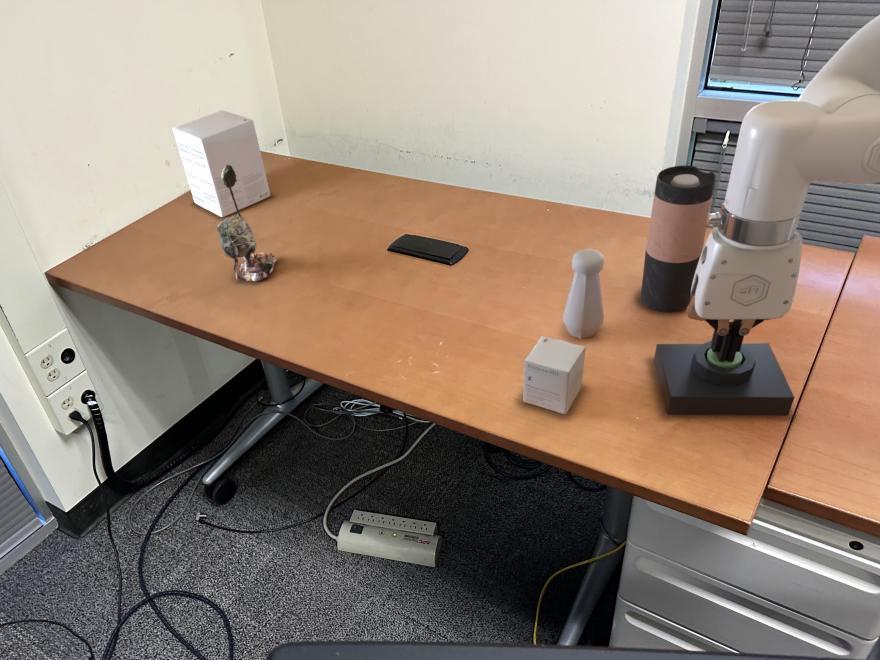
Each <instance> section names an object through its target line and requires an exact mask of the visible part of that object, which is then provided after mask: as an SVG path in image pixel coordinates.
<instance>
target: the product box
mask: <svg viewBox="0 0 880 660" xmlns="http://www.w3.org/2000/svg"><path fill="white" fill-rule="evenodd" d="M586 349H587V347H586V346H584V345H580V344H576V343H573V342H569V341H566V340H563V339H556V338H552V337H548V336H545V335H541V337H540V338H539V340H538V341H537V343H535V345H534V347H533V348H532V350H531V351H530V352H529V354H528V355H527V357H526V358H525V359H524V368H523V369H524V370H523V395H522V397H523V398H522V401H523V402H524V403H526V404H530V405H533V406H536V407H540V408H543V409H546V410H548V411H553V412H555V413H559V414H561V415H567V413H568V412H569V410H570V408H571V406H572V404H573V402H574V401H575V399H576V398H577V396H578V394H579V392H580V391H581V390H582V384H583V377H584V368H585V367H584V366H585V357H586Z"/></svg>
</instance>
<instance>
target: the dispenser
mask: <svg viewBox="0 0 880 660" xmlns="http://www.w3.org/2000/svg"><path fill="white" fill-rule="evenodd" d="M711 342H712V340H709V341H706V342H704V343H657V344H656V345H655V350H654V351H655V352H654V357H653V364H654V367H655V373H656V376H657V380H658V383H659V387H660V392H661V395H662V398H663V399H662V400H663V403H664V406H665V410H666V415H707V416H709V415H710V416H711V415H713V416H785V417H786V416H787V417H788V416H789V414H790V412H791V409H792V406H793V403H794V400H795V399H796V398H795V395H794V393H793V391H792V389H791V387H790V385H789V383H788V380H787V379H786V376H785V375H784V372H783V370H782V369H781V366H780V363H779V362H778V360H777V358H776V356H775V353H774V351H773V349H772V347H771V345H770V343H769V342H761V343H760V342H758V343H757V342H755V343H751V342H749V343H748V342H747V343H745V342H742V345H741V349H740V351H739V352H740V353H741V354H742V357H743V358H742V362H741V365H740V366H738V367H735V368H722V367H719V366H715V365H713V364H711V363H710V362H708V361H707V360H706V357H707V353H708V350H709V349H710V348H711Z"/></svg>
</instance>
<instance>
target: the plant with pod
mask: <svg viewBox="0 0 880 660" xmlns="http://www.w3.org/2000/svg"><path fill="white" fill-rule="evenodd" d="M221 178H222V181H223V183H224V185H225V186H226V187H227V188H229V189H230V193H231V196H232V199H233V201H234V205H235V207H236V210H237V211H236V213H237V214H234V215H232V216H230V217H226V218H224V219H223V220H221V221H220V222H219V223H218V225H217V227H216V229H217V233H218V236H219V237H218V238H219V242H220V245H221V248H222V251H223V253H224V254H225V256H226V258H229V259H232V260H233V261H234V262H233V263H234V265H233V270H234V274H235V280H241V281H245V282H248V281H249V282H259V281H262V280H264V279H266V278H267V277H268V276H269V275H270V274H271V273H272V272H273V271H274V267H275V265H276V264H277V262H276V261H278V260H279V259H278V258H277V256H275V255H273V253H269V254H268V253H266V252H265V251H261V252H260V253H255V252H256V250H257V248H258V247H257V245H258V244H257V241H256V237H255V234H254V232H253V230H252V228H251V226H250V224H249V223H248V221H247V220H246V218H245V217H243V216H242V215H241V213H240V210H238V208H237V204H236V202H235V199H234V196H233V192H232V188H231V187H233V186H234V185H235V182H237V180H236V174H235V171H234V170H233V168H232V166H231V165H226V166H225V167H224V169H223V171H222V173H221ZM214 224H217V223H216V221H214ZM239 258H242V259H243V260H244V262H242V263H241V264H240V265H239Z"/></svg>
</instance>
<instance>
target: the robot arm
mask: <svg viewBox="0 0 880 660" xmlns="http://www.w3.org/2000/svg"><path fill="white" fill-rule="evenodd" d="M813 182H823V183H836V184H837V183H838V184H849V185H850V184H851V185H867V184H876V183H880V14H879V15H877V16H876V17H874V18H872V19H871V20H870V21H869V22H868V23H865V25H863V26H862V27H861V28H860V29H858V30H857V31H856V32H855V33H854V34H853V35H851V36H850V38H848V39H847V40H846V41H845V43H844V44H842V45H841V46H840V48H839V49H838V50H837V51H836V52H835V53H834V54H833V55H832V56H831V57H830V59H829V60H828V61H827V62H826V63H825V65H823V66H822V68H821V69H819V70H818V72H817V73H816V75H814V77H813V78H812V79H811V80H810V81H809V83H808V84H807V85H806V87H804V90H802V93H801V94H800V95H799V97H798V98H797V100H795V99H778V100H771V101H765V102H761V103H759V104H757V105H755V106H753V107H752V108H750V109H749V110H748V111H747V112H746V114H745V115H744V117H743V119H742V122H741V126H740V129H739V134H738V138H737V143H736V148H735V153H734V157H733V161H732V166H731V171H730V175H729V180H728V184H727V188H726V192H725V197H724V202H723V203H721V205H720V209H719V210H718V211H717V212H714V213H709V214H708V215H707V227H713V228H712V229H711V231H710V233H709V234H708V235H709V236H708V237H707V239H706V241H705V243H704V245H703V250H702V254H701V256H700V259H699V262H698V265H697V268H696V271H695V275H694V279H693V283H692V287H691V300H690V303H689V305H688V306H687V307H686V308H685V312H686V315H687V318H688V319H690V320H695V321H701V322H703V321H704V322H706V323H707V324H708V325H710V326H711V328H712V329H713V333H712V338H711V341H712V342H711V349H712V352H716V355H717V358H718V360H719V362H724V361H726V360H727V361H728V362H733V361H734V358H735V354H736V352H739V351H740V349H741V345H742V343H744V342H743V341H744V338H745V336H747V335H749V334H750V332H751V330H752V329H753V328H755V327H756V326H758V325H760V324H762V323H763V322H764V321H771V320H776V319H782V318H784V317H785V316H786V315H787V314H788V313H790V310H791V307H792V305H793V301H794V297H795V295H796V289H797V285H798V281H799V280H798V279H799V274H800V269H801V268H800V267H801V261H802V252H803V235H802V234H801V233H800V232H799V231H798V230H797V229H798V225H799V222H800V219H801V217H802V212H803V208H804V204H805V202H806V199H807V195H808V192H809V188H810V185H811V183H813ZM730 320H732V321H730Z"/></svg>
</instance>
